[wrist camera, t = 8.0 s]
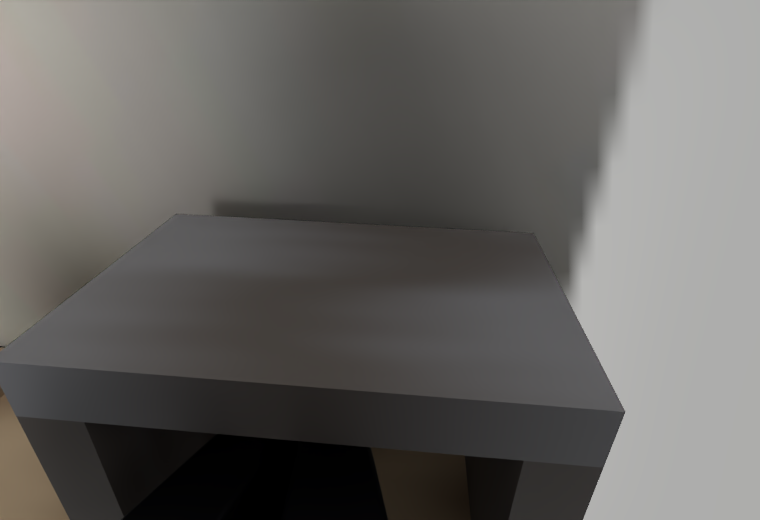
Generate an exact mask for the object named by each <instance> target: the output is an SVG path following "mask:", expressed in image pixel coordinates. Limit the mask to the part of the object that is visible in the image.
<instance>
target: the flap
mask: <svg viewBox="0 0 760 520" xmlns="http://www.w3.org/2000/svg"><path fill="white" fill-rule="evenodd" d="M0 386H1V388H2V390H3V392H4V395H3V396H2V397H1V398H0V520H121V519H122V518H123V517H124V516H125V515H126V514H127V513H129V512H130V511H131V510H132V509H133V508H134V507H135V506H136V505H137V504H139V503H140V502H141V501H142V500H143V499H144V498H145V497H146V496H148V495H149V494H150V493H151V492H152V491H153V490H154V489H155V488H157V487H158V486H159V485H160V484H161V483H162V482H163V481H164V480H165V479H167V478H168V477H169V476H170V475H171V474H172V473H173V472H174V471H176V470H177V469H178V468H179V467H180V466H181V465H182V464H183V463H184V462H186V461H187V460H188V459H189V458H190V457H191V456H192V455H193V454H195V453H196V452H197V451H198V450H199V449H200V448H201V447H202V446H203V445H205V444H206V443H207V442H208V441H209V440H210V439H211V438H212V437H214V436H215V435H216V434H225V435H236V436H247V437H259V438H270V439H282V440H293V441H304V442H316V443H327V444H339V445H350V446H361V447H371V449H372V453H373V458H374V462H375V466H376V470H377V475H378V479H379V483H380V487H381V492H382V496H383V500H384V504H385V508H386V513H387V517H388V520H583V518H584V515H585V512H586V510H587V507H588V505H589V502H590V500H591V497H592V495H593V492H594V489H595V487H596V485H597V482H598V480H599V477H600V474H601V472H602V470H603V467H604V464H605V462H606V459H607V457H608V454H609V452H610V449H611V447H612V444H613V442H614V439H615V437H616V434H617V432H618V429H619V426H620V424H621V421H622V419H623V416H624V414H625V411H624V408H623V407H622V405H621V403H620V401H619V399H618V397H617V395H616V393H615V391H614V389H613V387H612V385H611V383H610V381H609V379H608V377H607V375H606V373H605V371H604V370H603V368H602V366H601V364H600V362H599V360H598V358H597V356H596V354H595V352H594V350H593V348H592V346H591V344H590V342H589V340H588V338H587V336H586V334H585V333H584V331H583V329H582V327H581V325H580V323H579V321H578V319H577V317H576V315H575V313H574V311H573V309H572V307H571V305H570V303H569V301H568V299H567V297H566V296H565V294H564V292H563V290H562V288H561V286H560V284H559V282H558V280H557V278H556V276H555V274H554V272H553V270H552V268H551V266H550V264H549V262H548V261H547V259H546V257H545V255H544V253H543V251H542V249H541V247H540V245H539V243H538V241H537V239H536V237H535V235H534V233H520V232H502V231H483V230H465V229H446V228H428V227H409V226H391V225H372V224H354V223H335V222H317V221H298V220H280V219H262V218H243V217H225V216H206V215H188V214H175V215H174V216H173V217H172V218H170V219H169V220H168V221H166V222H165V223H164V224H163V225H161V226H160V227H159V228H157V229H156V230H155V231H154V232H152V233H151V234H150V235H149V236H147V237H146V238H145V239H143V240H142V241H141V242H140V243H138V244H137V245H136V246H134V247H133V248H132V249H131V250H129V251H128V252H127V253H126V254H124V255H123V256H122V257H120V258H119V259H118V260H117V261H115V262H114V263H113V264H111V265H110V266H109V267H108V268H106V269H105V270H104V271H102V272H101V273H100V274H99V275H97V276H96V277H95V278H94V279H92V280H91V281H90V282H88V283H87V284H86V285H85V286H83V287H82V288H81V289H79V290H78V291H77V292H76V293H74V294H73V295H72V296H70V297H69V298H68V299H67V300H65V301H64V302H63V303H62V304H60V305H59V306H58V307H56V308H55V309H54V310H53V311H51V312H50V313H49V314H47V315H46V316H45V317H44V318H42V319H41V320H40V321H38V322H37V323H36V324H35V325H33V326H32V327H31V328H30V329H28V330H27V331H26V332H24V333H23V334H22V335H21V336H19V337H18V338H17V339H15V340H14V341H13V342H12V343H10V344H9V345H8V346H6V347H5V348H4V349H3V350H1V351H0Z"/></svg>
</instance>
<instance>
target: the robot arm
mask: <svg viewBox="0 0 760 520" xmlns="http://www.w3.org/2000/svg"><path fill="white" fill-rule="evenodd" d="M121 520H388V517H387V513H386V508H385V504H384V500H383V496H382V492H381V487H380V483H379V479H378V475H377V470H376V466H375V462H374V458H373V453H372V449H371V447H361V446H350V445H339V444H327V443H316V442H304V441H293V440H282V439H270V438H259V437H247V436H236V435H225V434H216V435H215V436H214V437H212V438H211V439H210V440H209V441H208V442H207V443H206V444H205V445H203V446H202V447H201V448H200V449H199V450H198V451H197V452H196V453H195V454H193V455H192V456H191V457H190V458H189V459H188V460H187V461H186V462H184V463H183V464H182V465H181V466H180V467H179V468H178V469H177V470H176V471H174V472H173V473H172V474H171V475H170V476H169V477H168V478H167V479H165V480H164V481H163V482H162V483H161V484H160V485H159V486H158V487H157V488H155V489H154V490H153V491H152V492H151V493H150V494H149V495H148V496H146V497H145V498H144V499H143V500H142V501H141V502H140V503H139V504H137V505H136V506H135V507H134V508H133V509H132V510H131V511H130V512H129V513H127V514H126V515H125V516H124V517H123V518H122V519H121Z"/></svg>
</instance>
